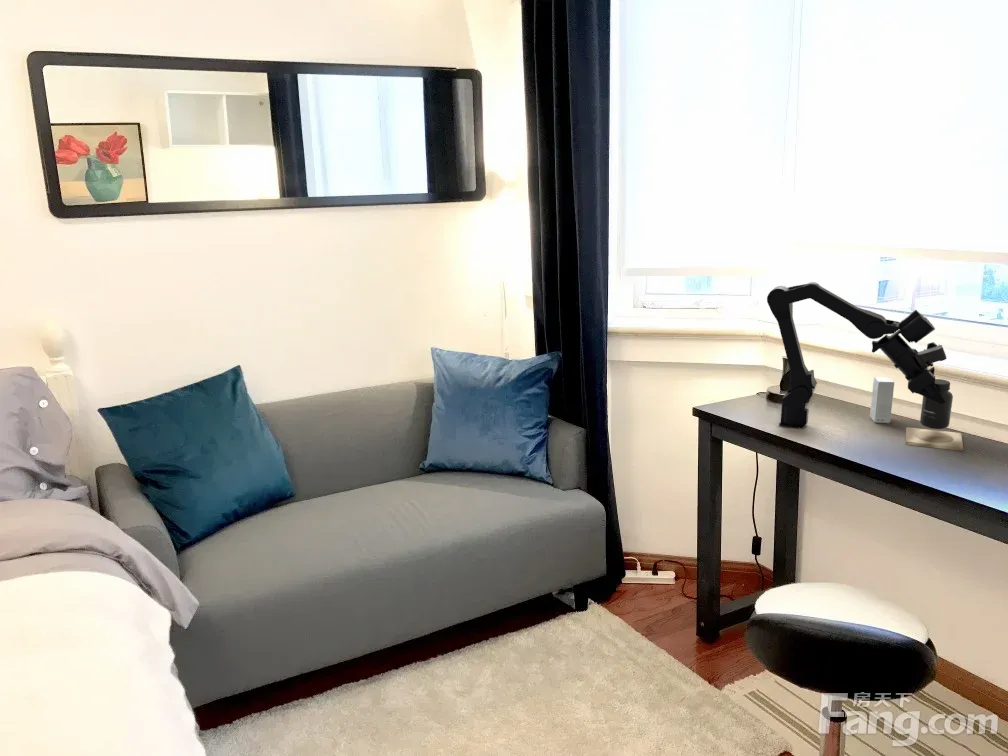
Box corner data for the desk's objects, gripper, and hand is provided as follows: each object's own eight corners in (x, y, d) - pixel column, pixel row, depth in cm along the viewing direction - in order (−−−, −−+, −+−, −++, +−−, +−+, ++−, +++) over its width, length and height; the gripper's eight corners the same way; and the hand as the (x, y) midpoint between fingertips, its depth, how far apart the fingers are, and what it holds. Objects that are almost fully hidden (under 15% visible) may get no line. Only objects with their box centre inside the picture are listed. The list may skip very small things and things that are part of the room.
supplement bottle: (920, 428, 208) (924, 384, 204) (919, 419, 213) (923, 376, 210) (950, 430, 205) (955, 386, 201) (948, 422, 211) (953, 378, 207)
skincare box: (890, 423, 224) (894, 382, 221) (874, 422, 225) (878, 381, 222) (885, 417, 230) (889, 376, 227) (869, 416, 231) (873, 376, 228)
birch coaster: (905, 444, 207) (905, 441, 207) (906, 430, 218) (906, 426, 218) (963, 450, 201) (963, 447, 201) (960, 435, 212) (960, 432, 212)
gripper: (928, 341, 196) (974, 389, 194) (927, 328, 213) (969, 372, 211) (889, 369, 202) (933, 416, 200) (891, 354, 218) (932, 397, 216)
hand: (943, 399), depth 206 cm, fingers closed on supplement bottle, 7 cm apart
